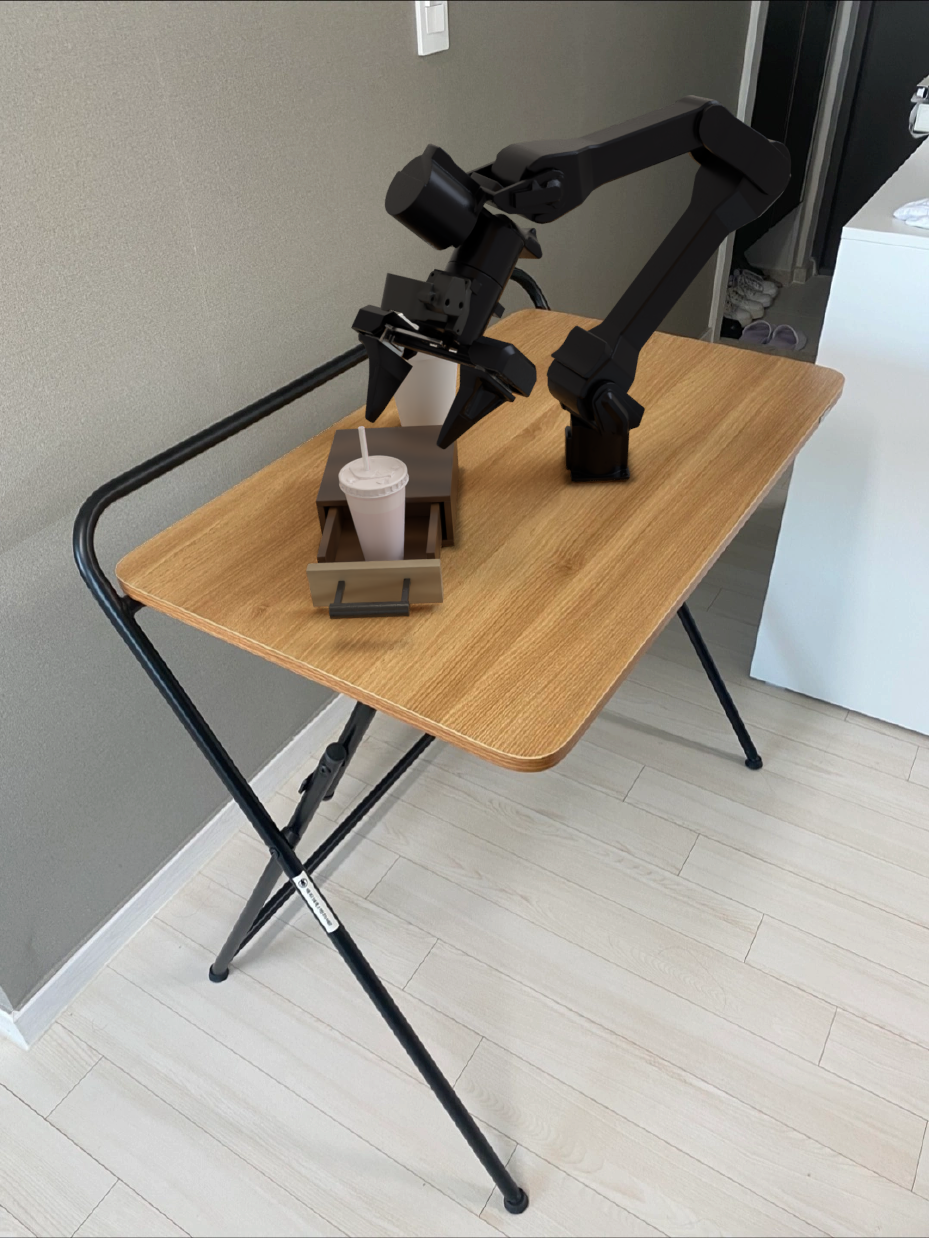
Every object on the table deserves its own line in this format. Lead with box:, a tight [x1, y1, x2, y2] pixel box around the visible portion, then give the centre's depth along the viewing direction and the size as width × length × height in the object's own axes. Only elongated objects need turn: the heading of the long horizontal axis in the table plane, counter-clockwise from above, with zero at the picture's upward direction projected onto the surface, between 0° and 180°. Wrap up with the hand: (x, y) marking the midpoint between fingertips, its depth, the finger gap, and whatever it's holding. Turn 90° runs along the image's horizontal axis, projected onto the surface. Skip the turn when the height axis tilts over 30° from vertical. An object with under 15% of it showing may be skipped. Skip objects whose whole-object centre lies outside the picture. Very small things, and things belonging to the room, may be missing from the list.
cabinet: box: [315, 425, 460, 547], centre depth 102 cm, size 15×13×6 cm
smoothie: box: [339, 425, 409, 561], centre depth 89 cm, size 6×6×14 cm
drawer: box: [305, 502, 445, 620], centre depth 92 cm, size 19×12×4 cm, turn 178°
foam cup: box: [393, 313, 458, 427], centre depth 115 cm, size 10×9×13 cm
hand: (403, 434), depth 89 cm, fingers open, 9 cm apart
